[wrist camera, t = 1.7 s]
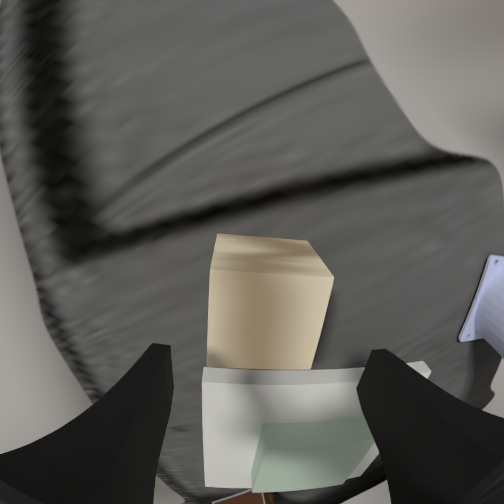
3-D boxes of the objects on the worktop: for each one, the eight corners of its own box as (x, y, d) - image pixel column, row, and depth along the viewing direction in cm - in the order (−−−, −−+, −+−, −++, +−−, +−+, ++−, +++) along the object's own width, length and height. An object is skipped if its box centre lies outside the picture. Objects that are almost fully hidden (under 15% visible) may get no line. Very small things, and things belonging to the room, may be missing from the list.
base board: (423, 360, 21) (445, 390, 17) (357, 467, 27) (365, 491, 23) (203, 366, 19) (199, 409, 15) (205, 476, 25) (204, 504, 21)
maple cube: (306, 240, 16) (334, 277, 12) (293, 316, 18) (310, 369, 13) (217, 233, 16) (210, 269, 11) (212, 312, 18) (206, 366, 13)
